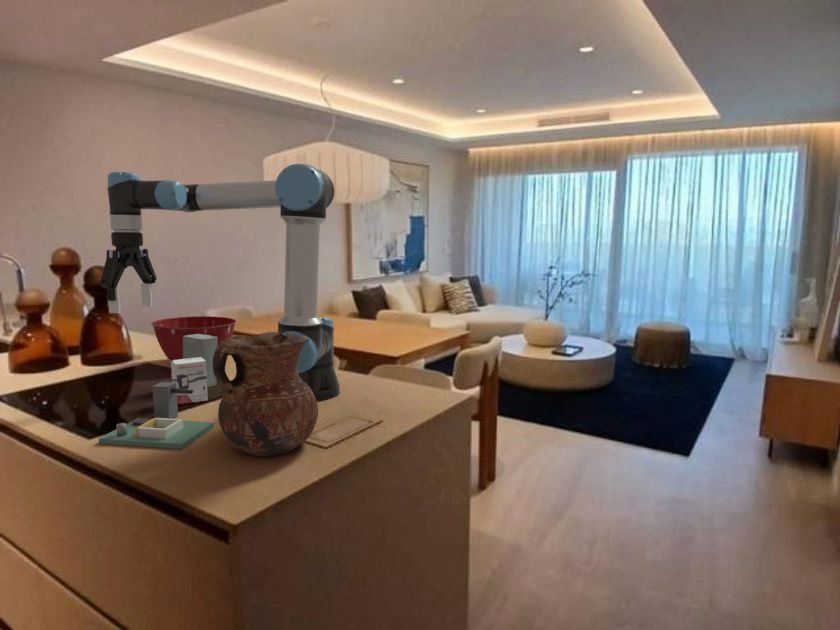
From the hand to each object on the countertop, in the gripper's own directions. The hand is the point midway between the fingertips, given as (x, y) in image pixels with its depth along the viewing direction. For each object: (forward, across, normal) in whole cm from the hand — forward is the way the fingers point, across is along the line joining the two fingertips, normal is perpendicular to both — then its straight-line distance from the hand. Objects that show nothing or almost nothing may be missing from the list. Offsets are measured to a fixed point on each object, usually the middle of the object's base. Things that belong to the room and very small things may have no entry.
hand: (131, 309), depth 150 cm
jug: (+26, +25, +50) cm, 62 cm away
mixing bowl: (+26, -45, -8) cm, 53 cm away
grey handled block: (+26, +12, +19) cm, 34 cm away
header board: (+26, +23, +22) cm, 41 cm away
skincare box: (+26, -18, +9) cm, 33 cm away
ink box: (+26, -2, +14) cm, 30 cm away
